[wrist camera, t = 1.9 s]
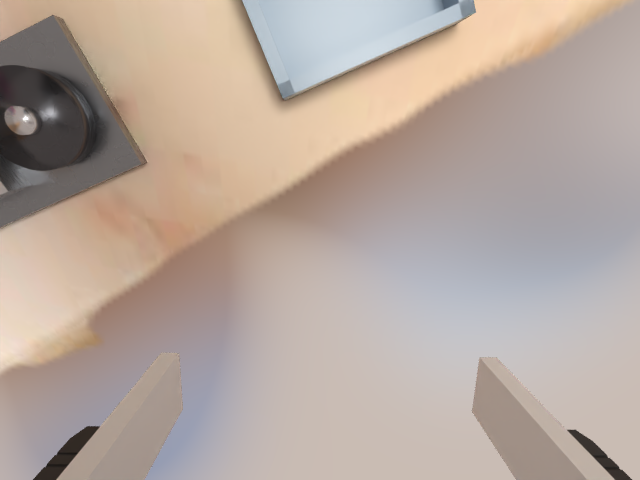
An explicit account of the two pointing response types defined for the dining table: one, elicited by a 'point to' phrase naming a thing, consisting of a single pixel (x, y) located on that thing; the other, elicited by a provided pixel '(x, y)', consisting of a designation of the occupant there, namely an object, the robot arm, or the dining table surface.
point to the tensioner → (54, 123)
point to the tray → (342, 34)
